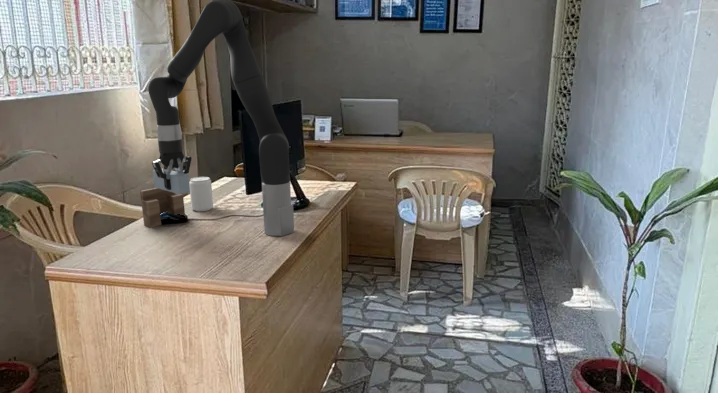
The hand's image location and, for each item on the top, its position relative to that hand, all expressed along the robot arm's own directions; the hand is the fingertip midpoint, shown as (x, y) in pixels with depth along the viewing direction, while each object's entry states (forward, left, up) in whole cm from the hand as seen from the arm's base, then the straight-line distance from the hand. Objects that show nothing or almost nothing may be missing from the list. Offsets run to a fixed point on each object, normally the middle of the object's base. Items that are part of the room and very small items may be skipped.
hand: (174, 188), depth 181 cm
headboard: (+10, 0, -14) cm, 17 cm away
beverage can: (+13, -18, -14) cm, 26 cm away
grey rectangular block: (+2, 0, -1) cm, 2 cm away
